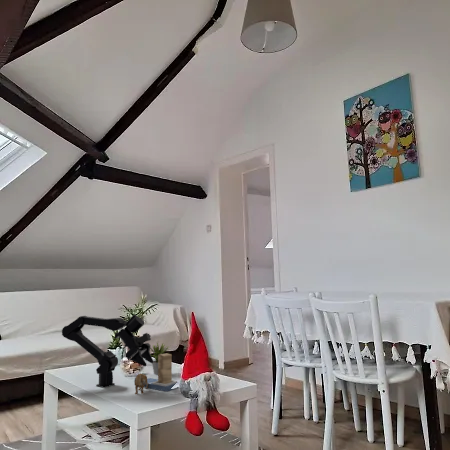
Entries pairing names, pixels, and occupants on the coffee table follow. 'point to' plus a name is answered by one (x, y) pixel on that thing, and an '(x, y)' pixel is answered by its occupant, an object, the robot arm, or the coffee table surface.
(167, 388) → the blueprint board
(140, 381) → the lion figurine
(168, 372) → the oak pillar
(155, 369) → the house plant
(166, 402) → the coffee table surface
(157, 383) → the grey socket
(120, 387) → the coffee table surface
